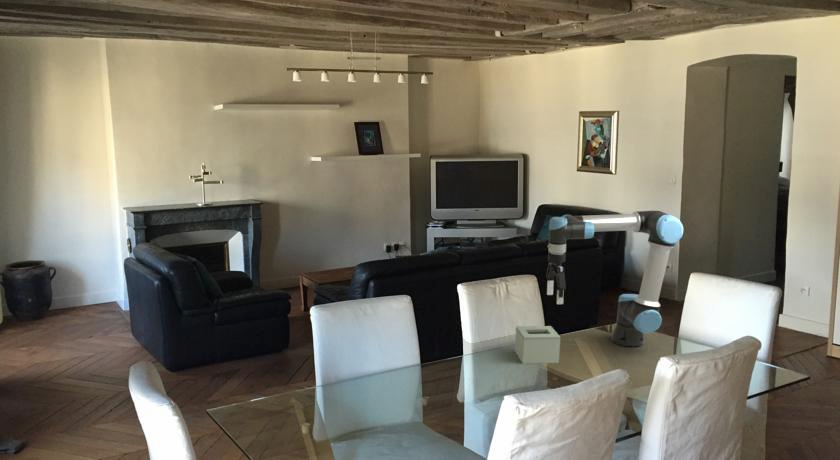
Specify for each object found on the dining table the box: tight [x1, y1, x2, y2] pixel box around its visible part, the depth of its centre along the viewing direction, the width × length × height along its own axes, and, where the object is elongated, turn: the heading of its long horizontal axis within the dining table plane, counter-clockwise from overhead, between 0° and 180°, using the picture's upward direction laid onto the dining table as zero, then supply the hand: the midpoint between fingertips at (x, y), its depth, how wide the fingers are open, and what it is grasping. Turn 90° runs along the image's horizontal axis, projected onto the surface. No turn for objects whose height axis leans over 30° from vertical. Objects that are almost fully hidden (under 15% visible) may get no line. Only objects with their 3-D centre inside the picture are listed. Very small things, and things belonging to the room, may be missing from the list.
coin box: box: [514, 325, 561, 365], centre depth 318 cm, size 16×14×12 cm
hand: (554, 299), depth 319 cm, fingers open, 13 cm apart
